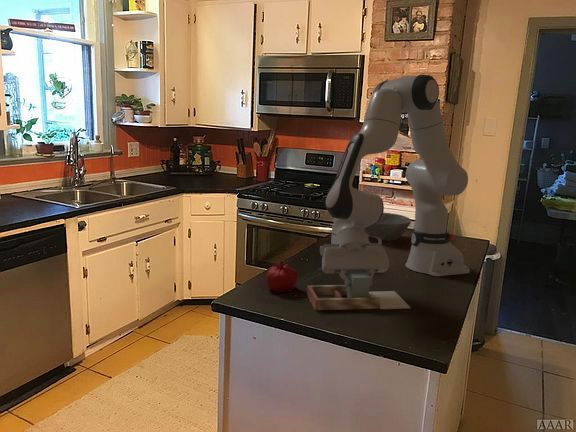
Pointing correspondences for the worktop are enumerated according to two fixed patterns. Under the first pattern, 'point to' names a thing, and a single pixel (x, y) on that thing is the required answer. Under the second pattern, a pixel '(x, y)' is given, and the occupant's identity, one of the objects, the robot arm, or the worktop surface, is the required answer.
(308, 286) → the box
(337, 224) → the robot arm
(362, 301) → the wooden divided tray
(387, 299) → the pad
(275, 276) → the pomegranate
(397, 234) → the ceramic bowl
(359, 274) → the grey-green block
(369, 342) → the worktop surface
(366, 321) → the worktop surface
